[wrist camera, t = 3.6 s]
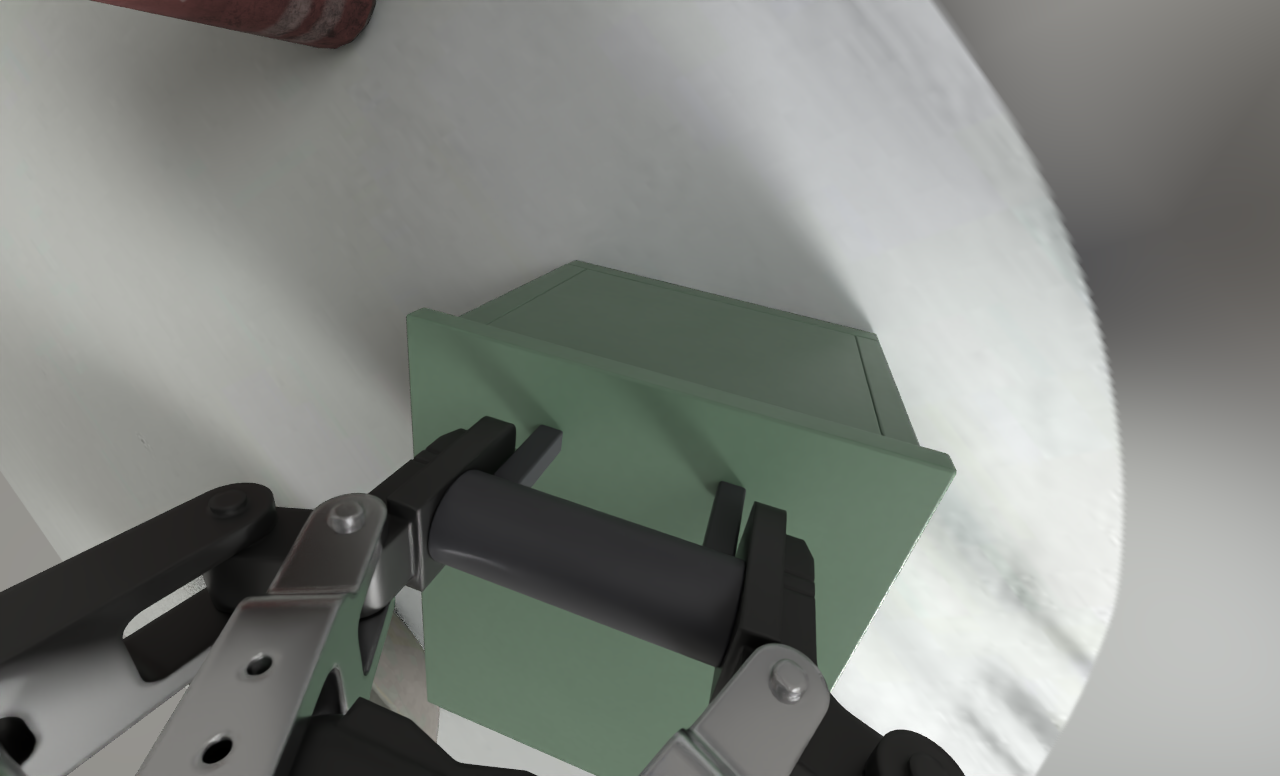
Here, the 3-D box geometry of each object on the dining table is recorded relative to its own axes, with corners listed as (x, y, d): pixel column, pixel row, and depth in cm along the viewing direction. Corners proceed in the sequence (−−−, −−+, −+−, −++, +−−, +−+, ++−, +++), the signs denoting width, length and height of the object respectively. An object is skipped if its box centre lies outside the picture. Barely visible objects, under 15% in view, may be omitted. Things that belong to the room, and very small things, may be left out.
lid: (424, 306, 14) (236, 383, 10) (950, 453, 12) (1047, 655, 7) (438, 685, 22) (341, 826, 18) (748, 818, 20) (731, 1023, 15)
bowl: (227, 550, 45) (120, 624, 38) (375, 496, 36) (272, 580, 29) (368, 715, 50) (299, 807, 43) (528, 704, 41) (472, 817, 34)
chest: (575, 259, 24) (426, 331, 15) (877, 333, 22) (934, 478, 12) (547, 524, 32) (438, 684, 22) (766, 601, 30) (748, 816, 20)
